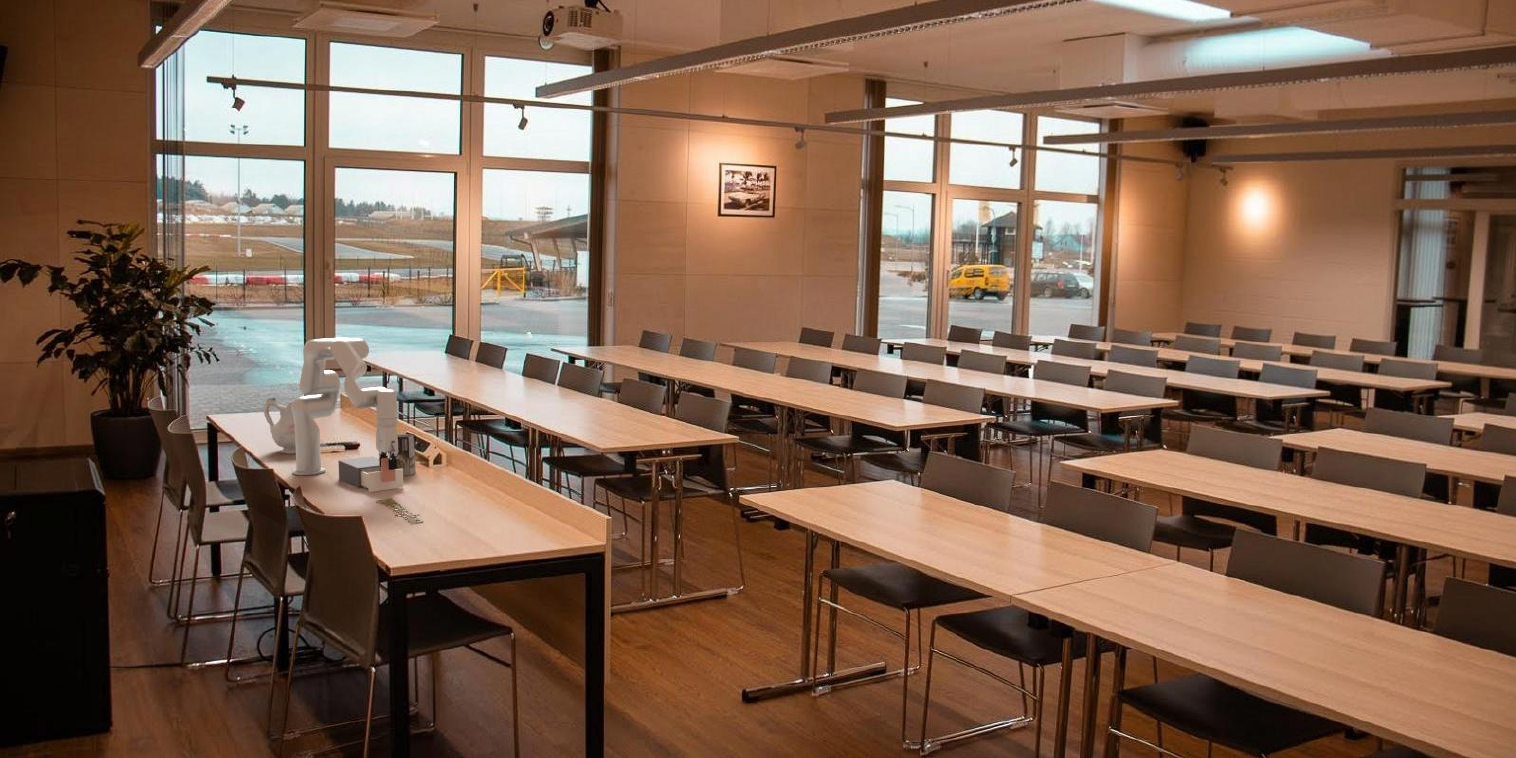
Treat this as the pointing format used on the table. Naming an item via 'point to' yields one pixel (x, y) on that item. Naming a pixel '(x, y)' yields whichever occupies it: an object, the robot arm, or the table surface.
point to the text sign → (393, 504)
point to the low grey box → (355, 469)
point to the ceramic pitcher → (282, 426)
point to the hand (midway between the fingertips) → (388, 467)
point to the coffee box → (406, 453)
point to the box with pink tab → (381, 477)
